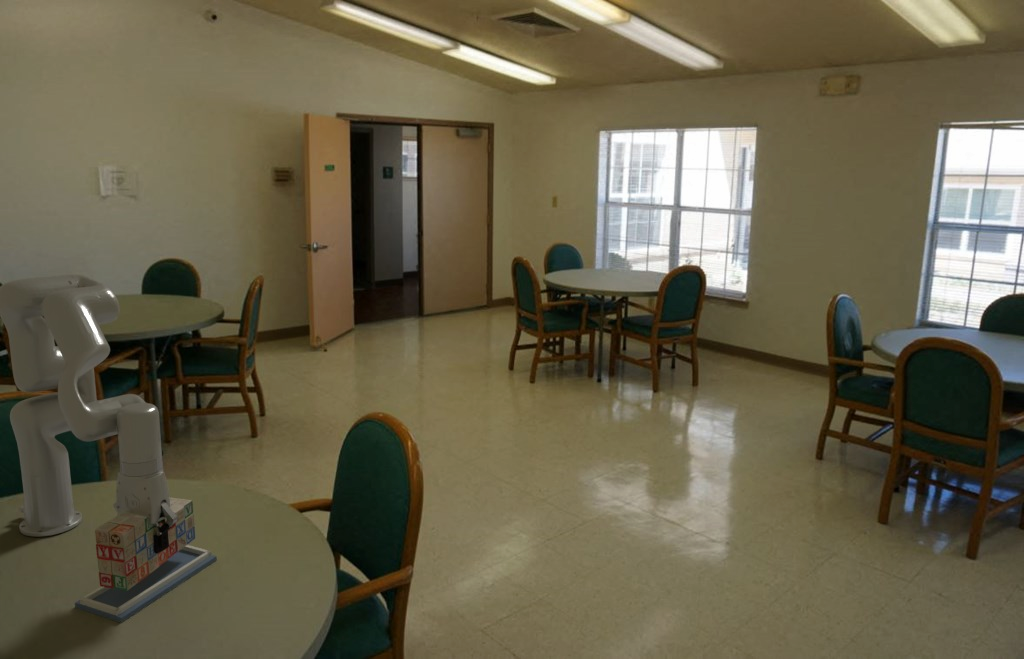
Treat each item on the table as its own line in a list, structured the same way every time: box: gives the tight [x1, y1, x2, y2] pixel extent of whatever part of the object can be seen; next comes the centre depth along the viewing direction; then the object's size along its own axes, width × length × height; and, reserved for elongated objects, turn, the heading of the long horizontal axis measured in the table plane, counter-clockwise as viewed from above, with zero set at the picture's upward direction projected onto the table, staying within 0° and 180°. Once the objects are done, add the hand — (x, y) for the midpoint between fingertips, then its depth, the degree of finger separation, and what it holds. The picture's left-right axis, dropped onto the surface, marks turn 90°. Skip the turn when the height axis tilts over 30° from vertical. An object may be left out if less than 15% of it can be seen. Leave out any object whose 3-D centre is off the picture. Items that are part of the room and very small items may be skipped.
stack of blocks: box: [94, 496, 196, 591], centre depth 152 cm, size 21×6×12 cm, turn 168°
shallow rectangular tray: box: [74, 544, 217, 623], centre depth 154 cm, size 12×25×2 cm, turn 159°
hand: (147, 545), depth 152 cm, fingers closed on stack of blocks, 6 cm apart
